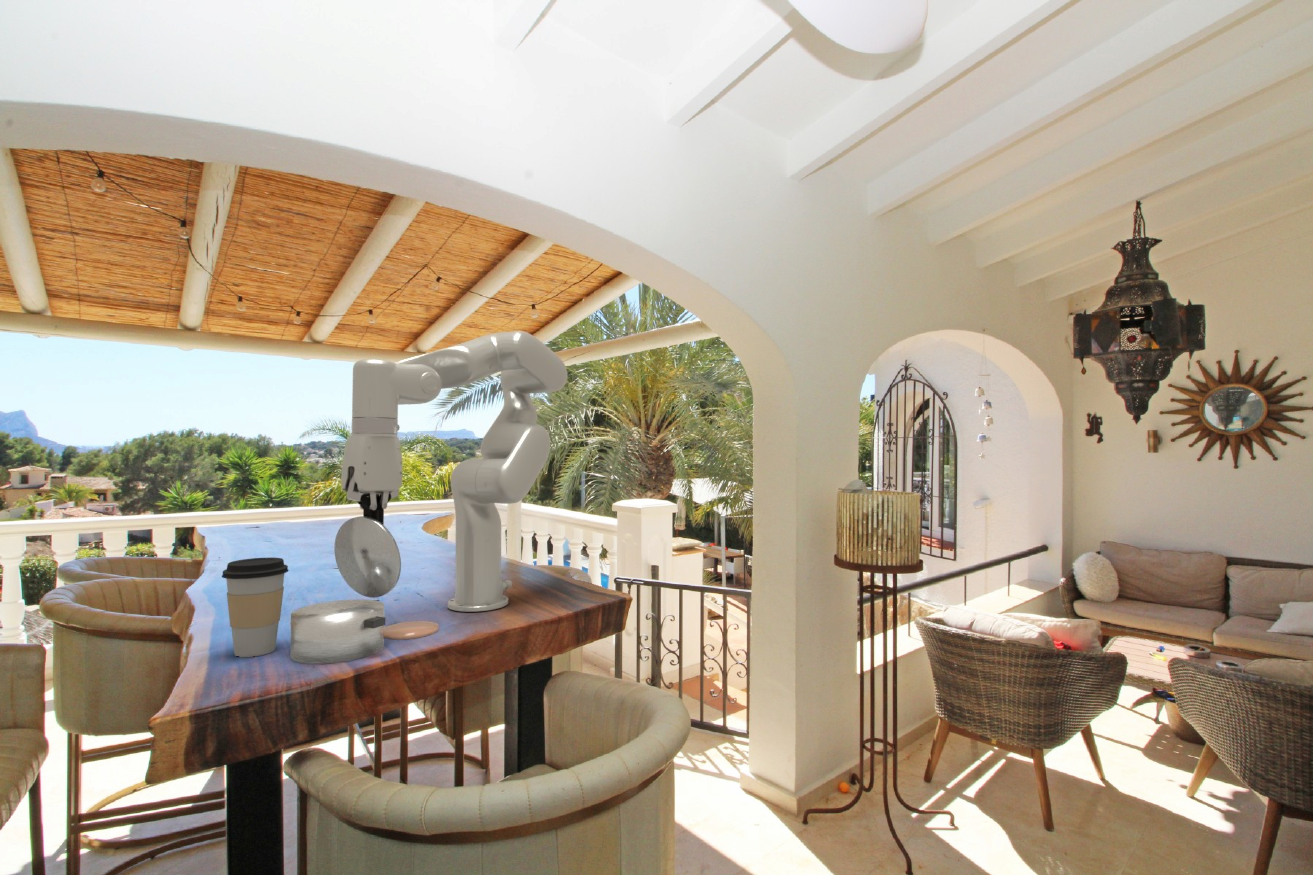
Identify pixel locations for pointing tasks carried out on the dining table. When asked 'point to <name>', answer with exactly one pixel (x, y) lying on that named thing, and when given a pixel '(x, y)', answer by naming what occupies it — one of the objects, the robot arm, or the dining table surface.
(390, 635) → the coaster
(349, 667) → the dining table surface
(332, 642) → the pot
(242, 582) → the coffee cup
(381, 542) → the lid
